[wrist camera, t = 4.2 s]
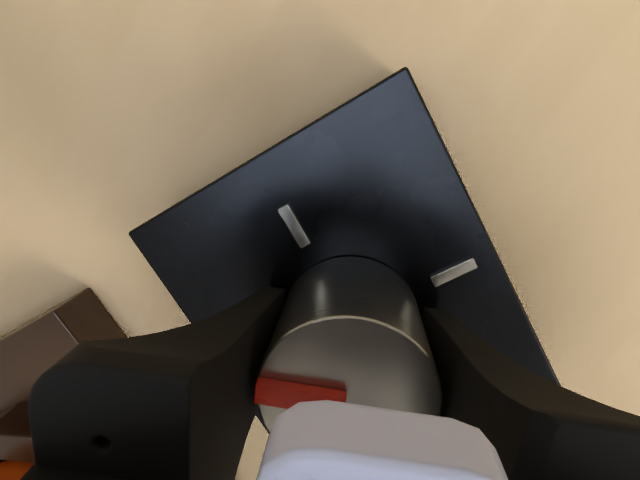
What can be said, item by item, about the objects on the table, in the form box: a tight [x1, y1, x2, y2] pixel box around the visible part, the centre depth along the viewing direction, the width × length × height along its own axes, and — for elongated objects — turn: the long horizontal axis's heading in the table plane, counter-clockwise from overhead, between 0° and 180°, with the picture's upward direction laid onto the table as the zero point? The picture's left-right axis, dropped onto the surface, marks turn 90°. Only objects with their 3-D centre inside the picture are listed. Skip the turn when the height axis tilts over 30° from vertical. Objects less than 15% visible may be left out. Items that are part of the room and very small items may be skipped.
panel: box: [129, 67, 561, 434], centre depth 15 cm, size 12×10×3 cm
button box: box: [0, 288, 127, 464], centre depth 18 cm, size 12×10×4 cm
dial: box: [254, 257, 442, 432], centre depth 11 cm, size 4×4×4 cm
